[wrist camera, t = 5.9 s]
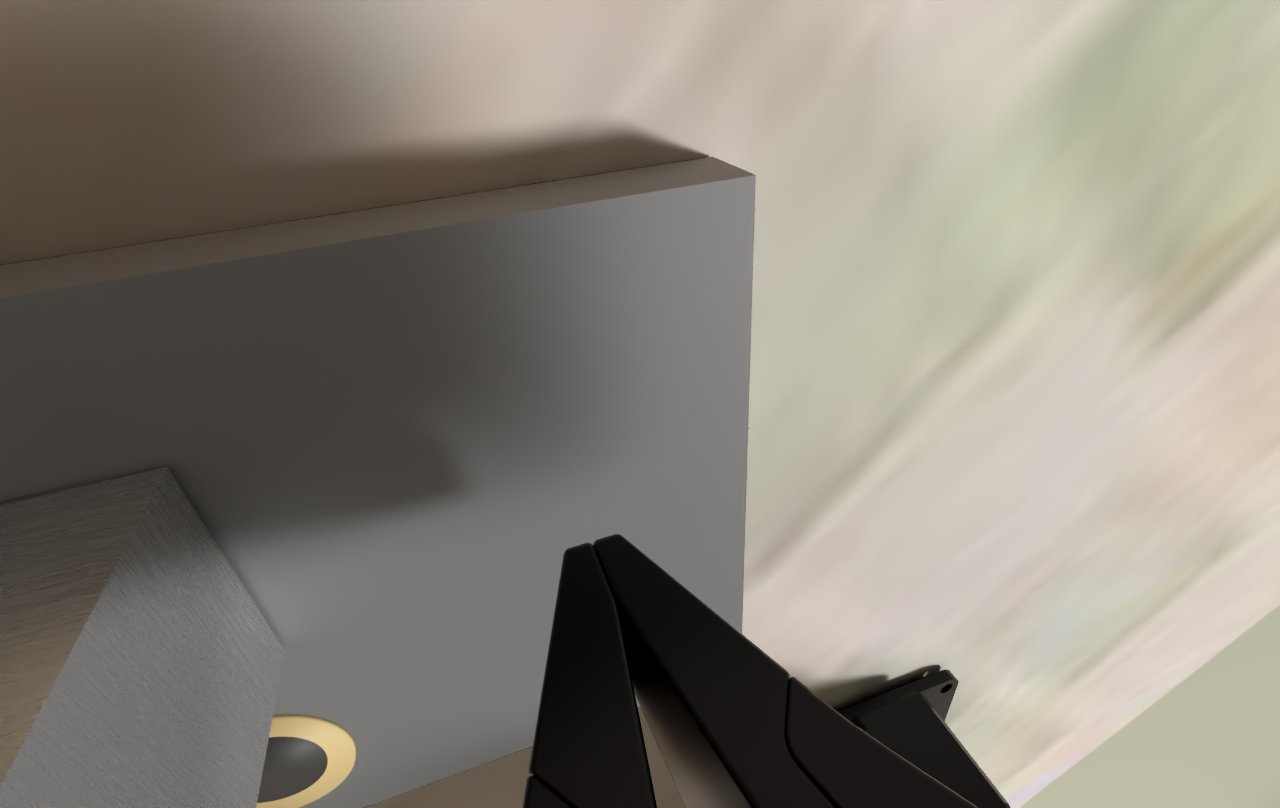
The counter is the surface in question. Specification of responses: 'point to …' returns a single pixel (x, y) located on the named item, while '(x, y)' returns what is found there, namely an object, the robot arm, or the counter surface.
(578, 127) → the counter surface
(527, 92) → the counter surface
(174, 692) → the slide leg
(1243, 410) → the counter surface
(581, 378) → the bolt plate
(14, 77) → the counter surface
